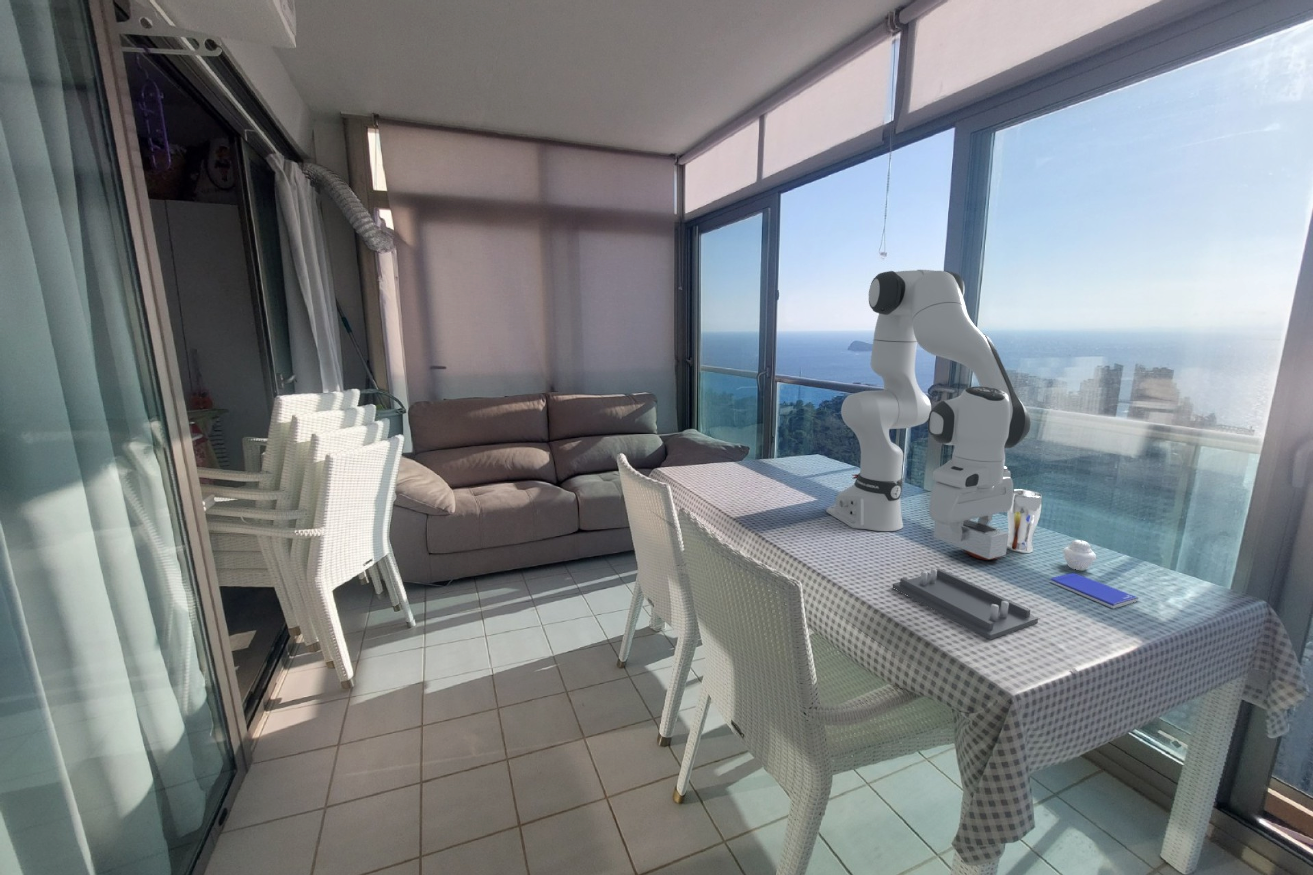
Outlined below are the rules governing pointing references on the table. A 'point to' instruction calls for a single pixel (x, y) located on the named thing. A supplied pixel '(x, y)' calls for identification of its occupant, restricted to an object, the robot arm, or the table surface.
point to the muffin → (1079, 555)
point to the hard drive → (1094, 590)
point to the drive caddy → (975, 538)
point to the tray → (967, 603)
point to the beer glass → (1023, 520)
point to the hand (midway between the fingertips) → (968, 537)
